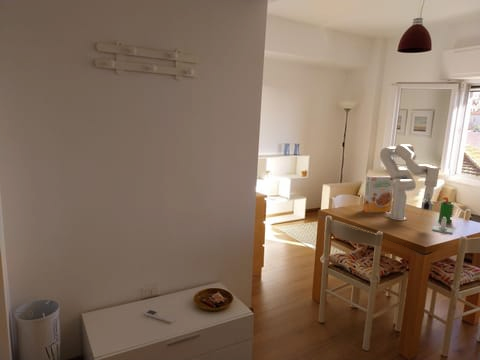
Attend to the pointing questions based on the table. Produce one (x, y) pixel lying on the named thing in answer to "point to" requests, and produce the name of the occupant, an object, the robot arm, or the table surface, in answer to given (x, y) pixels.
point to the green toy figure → (446, 210)
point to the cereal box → (378, 193)
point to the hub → (429, 205)
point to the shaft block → (443, 227)
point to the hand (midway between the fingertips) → (426, 207)
